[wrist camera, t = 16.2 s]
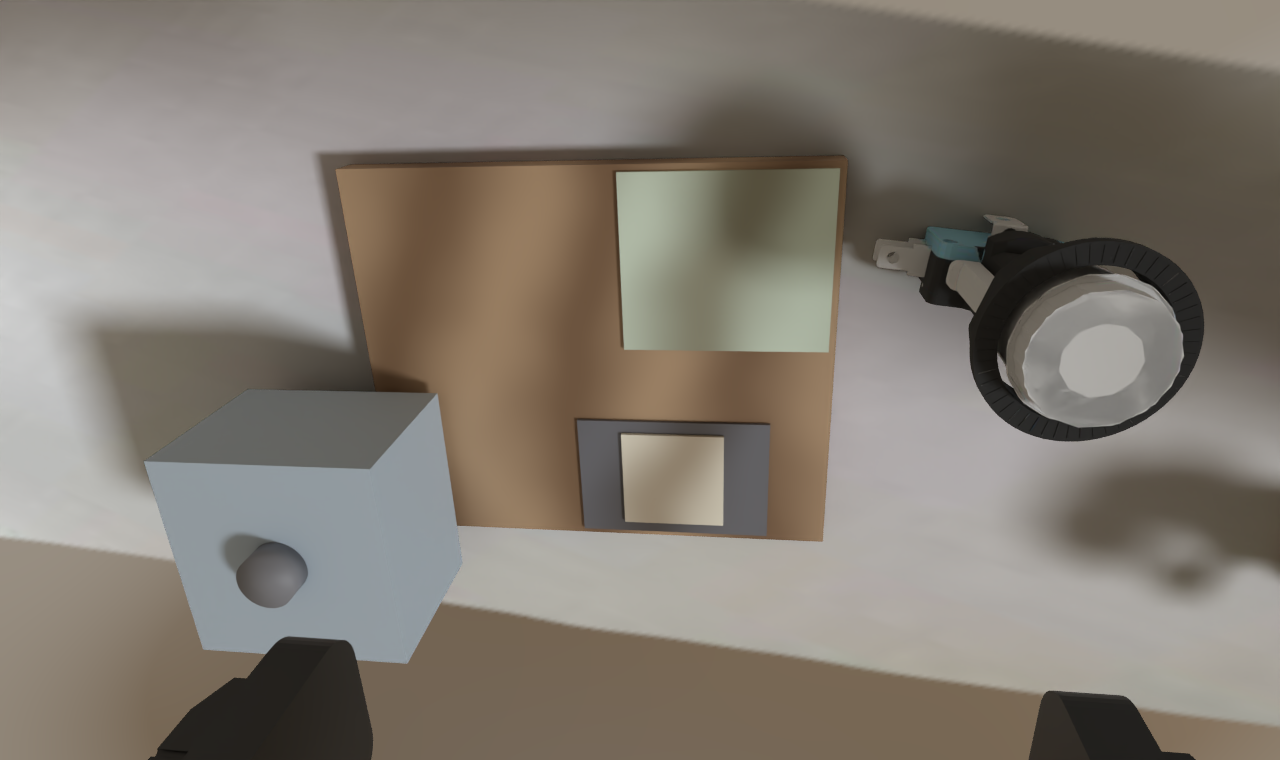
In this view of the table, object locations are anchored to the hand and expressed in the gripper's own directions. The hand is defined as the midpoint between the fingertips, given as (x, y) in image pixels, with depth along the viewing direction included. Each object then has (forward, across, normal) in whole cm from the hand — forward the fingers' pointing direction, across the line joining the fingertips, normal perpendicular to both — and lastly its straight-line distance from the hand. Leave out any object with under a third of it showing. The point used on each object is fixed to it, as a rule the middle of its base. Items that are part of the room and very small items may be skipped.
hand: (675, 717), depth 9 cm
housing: (+20, +15, +9) cm, 27 cm away
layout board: (+22, +5, +4) cm, 23 cm away
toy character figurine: (+22, -8, 0) cm, 24 cm away
